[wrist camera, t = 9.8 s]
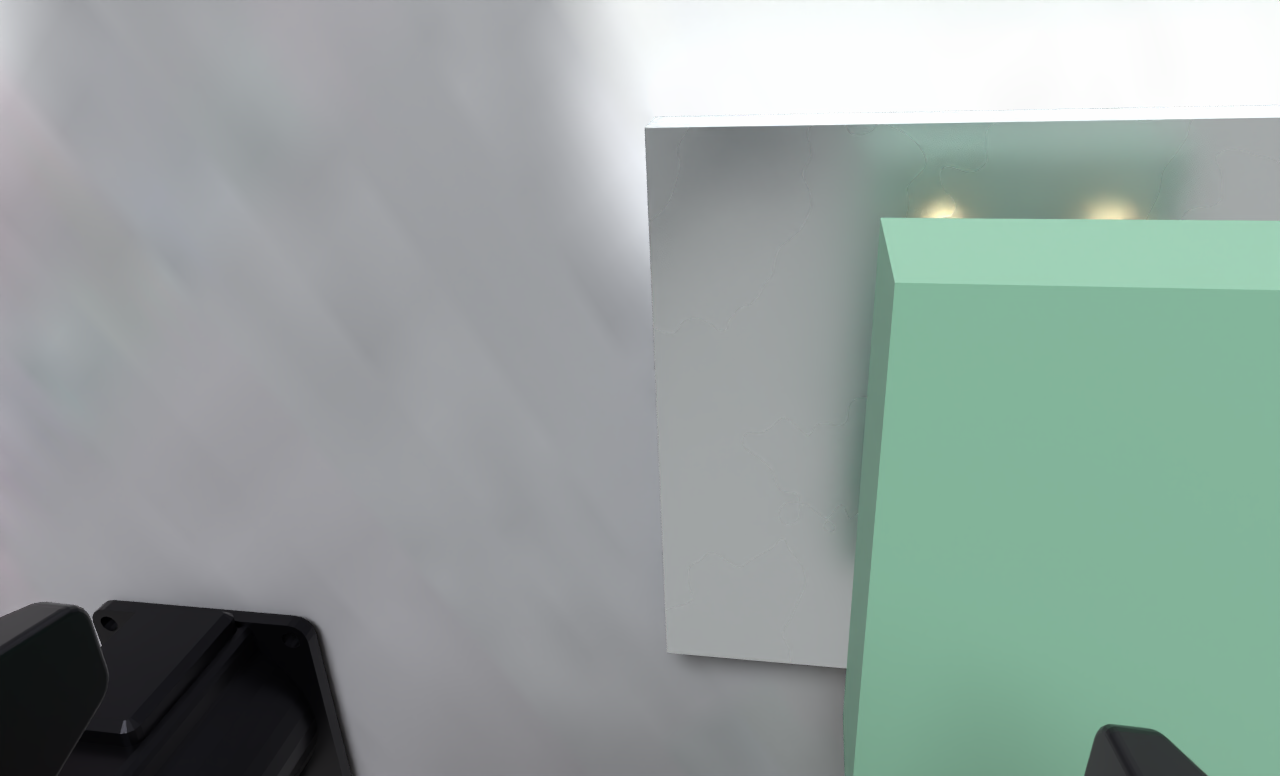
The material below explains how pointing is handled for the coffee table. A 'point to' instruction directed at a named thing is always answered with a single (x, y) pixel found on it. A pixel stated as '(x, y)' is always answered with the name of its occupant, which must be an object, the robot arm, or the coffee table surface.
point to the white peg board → (850, 316)
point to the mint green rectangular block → (1068, 497)
